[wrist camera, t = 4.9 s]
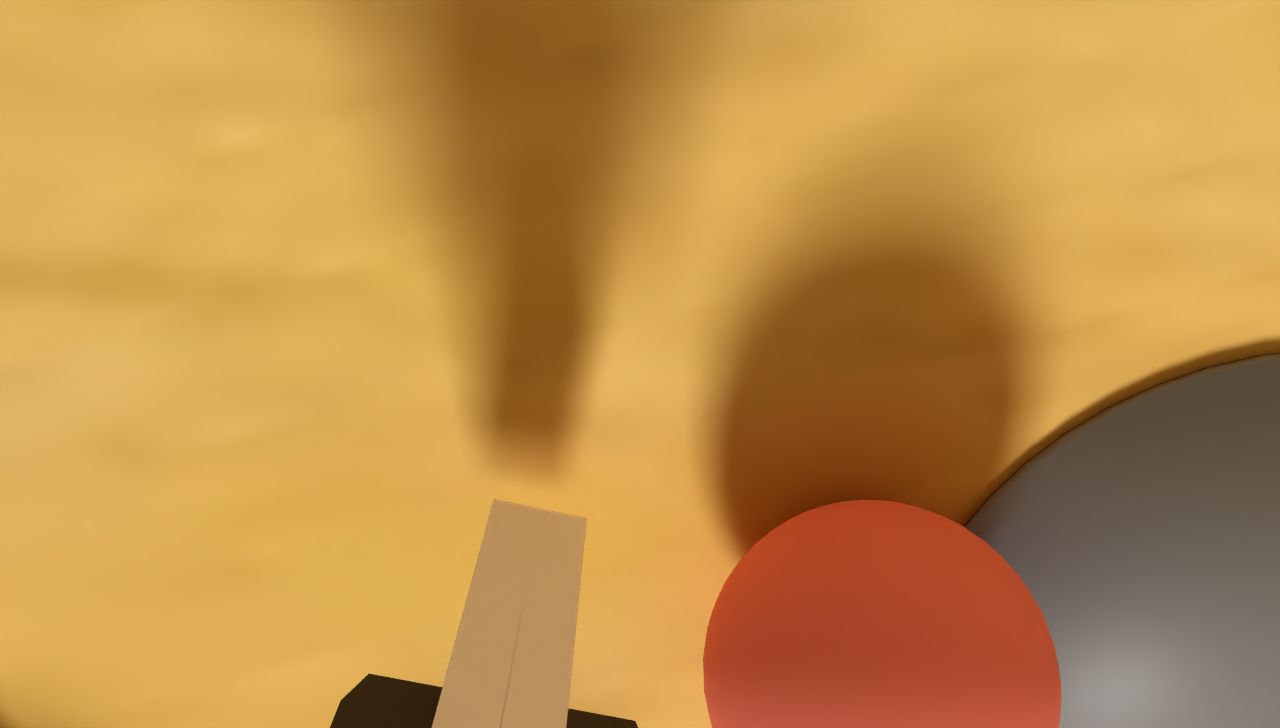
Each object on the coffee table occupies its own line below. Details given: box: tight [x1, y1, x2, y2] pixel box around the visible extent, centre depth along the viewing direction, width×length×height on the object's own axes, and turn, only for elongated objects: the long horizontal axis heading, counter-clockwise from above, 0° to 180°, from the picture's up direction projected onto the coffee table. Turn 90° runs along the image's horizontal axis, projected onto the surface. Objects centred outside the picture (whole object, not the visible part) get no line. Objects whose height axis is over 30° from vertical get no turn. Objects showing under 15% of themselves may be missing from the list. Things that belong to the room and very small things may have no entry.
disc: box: [965, 353, 1280, 728], centre depth 18 cm, size 13×13×1 cm
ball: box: [703, 500, 1061, 728], centre depth 15 cm, size 6×6×6 cm
